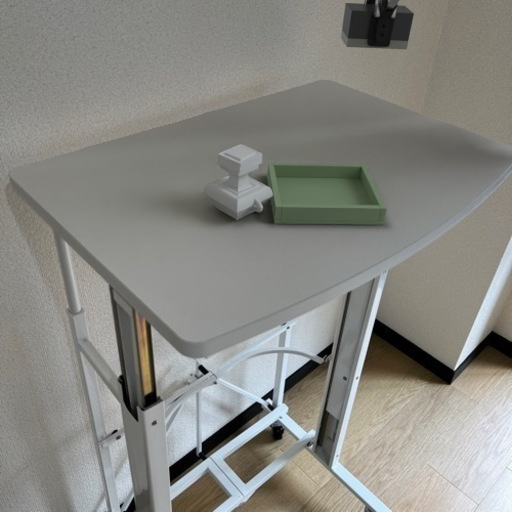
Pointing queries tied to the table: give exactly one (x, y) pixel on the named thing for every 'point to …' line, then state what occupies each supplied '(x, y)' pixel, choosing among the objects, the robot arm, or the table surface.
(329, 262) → the table surface
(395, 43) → the eraser
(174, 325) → the table surface
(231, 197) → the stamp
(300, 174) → the tray
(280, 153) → the table surface
